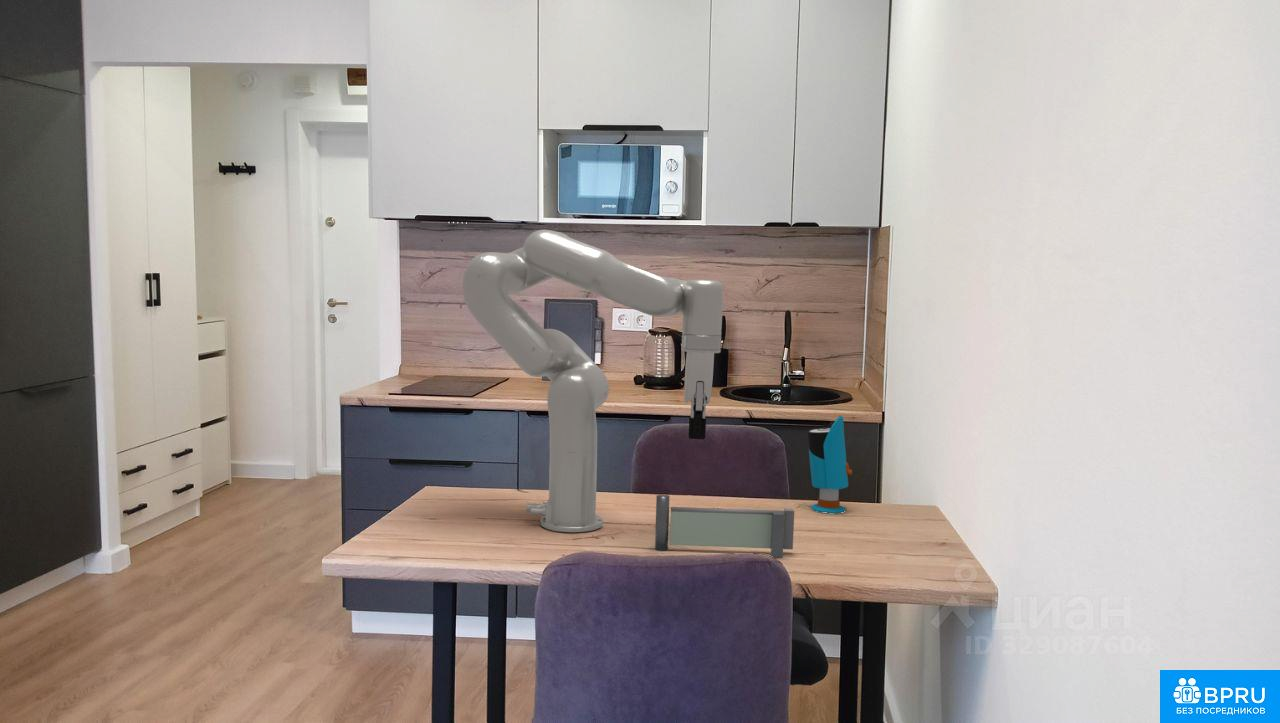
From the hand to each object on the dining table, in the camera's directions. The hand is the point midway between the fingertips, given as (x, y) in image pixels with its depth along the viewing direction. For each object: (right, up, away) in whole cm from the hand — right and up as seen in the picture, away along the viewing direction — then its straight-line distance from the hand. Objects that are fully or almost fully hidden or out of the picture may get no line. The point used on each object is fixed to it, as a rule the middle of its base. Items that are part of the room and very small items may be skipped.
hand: (696, 438), depth 179 cm
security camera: (+31, -18, +26) cm, 44 cm away
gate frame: (+3, -20, -9) cm, 23 cm away
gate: (+6, -19, -9) cm, 22 cm away
